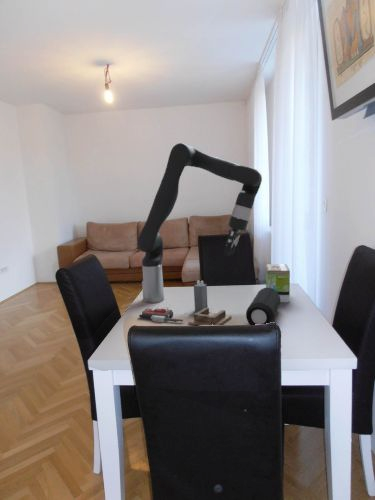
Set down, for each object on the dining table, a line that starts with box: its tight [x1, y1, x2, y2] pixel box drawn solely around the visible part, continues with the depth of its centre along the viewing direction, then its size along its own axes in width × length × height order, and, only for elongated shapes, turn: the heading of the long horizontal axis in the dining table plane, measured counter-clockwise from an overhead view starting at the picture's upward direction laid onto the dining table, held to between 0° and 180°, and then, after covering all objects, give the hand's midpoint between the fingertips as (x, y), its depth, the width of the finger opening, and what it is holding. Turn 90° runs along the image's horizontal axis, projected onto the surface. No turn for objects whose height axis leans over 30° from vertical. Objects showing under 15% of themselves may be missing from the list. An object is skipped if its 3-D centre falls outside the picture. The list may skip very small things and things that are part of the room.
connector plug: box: [193, 280, 209, 312], centre depth 151 cm, size 4×4×13 cm
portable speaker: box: [245, 287, 281, 326], centre depth 137 cm, size 26×10×10 cm, turn 159°
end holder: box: [187, 307, 232, 326], centre depth 138 cm, size 12×13×4 cm
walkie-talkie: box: [138, 306, 184, 323], centre depth 144 cm, size 9×4×20 cm
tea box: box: [265, 263, 291, 303], centre depth 163 cm, size 15×10×15 cm, turn 170°
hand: (228, 254), depth 147 cm, fingers open, 8 cm apart
